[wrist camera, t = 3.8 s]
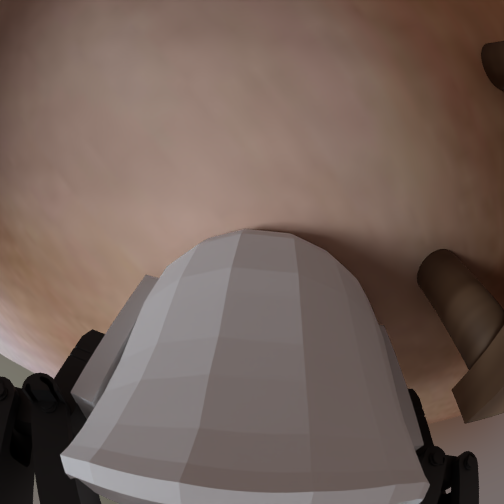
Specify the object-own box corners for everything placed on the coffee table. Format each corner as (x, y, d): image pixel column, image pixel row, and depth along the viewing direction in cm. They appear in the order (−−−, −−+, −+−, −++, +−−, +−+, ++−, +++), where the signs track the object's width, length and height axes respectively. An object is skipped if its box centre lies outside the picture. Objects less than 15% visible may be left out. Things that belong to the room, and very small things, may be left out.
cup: (301, 392, 16) (302, 536, 7) (147, 337, 14) (81, 489, 6) (404, 280, 11) (494, 472, 3) (200, 180, 10) (2, 413, 2)
